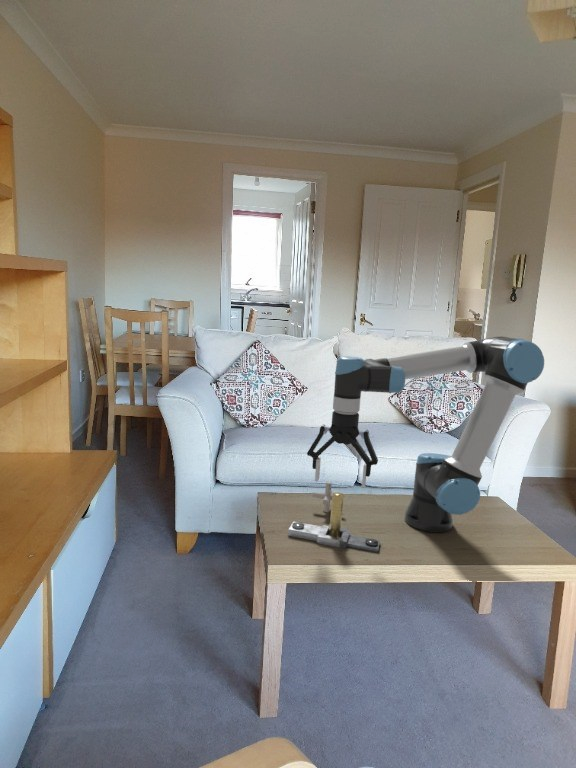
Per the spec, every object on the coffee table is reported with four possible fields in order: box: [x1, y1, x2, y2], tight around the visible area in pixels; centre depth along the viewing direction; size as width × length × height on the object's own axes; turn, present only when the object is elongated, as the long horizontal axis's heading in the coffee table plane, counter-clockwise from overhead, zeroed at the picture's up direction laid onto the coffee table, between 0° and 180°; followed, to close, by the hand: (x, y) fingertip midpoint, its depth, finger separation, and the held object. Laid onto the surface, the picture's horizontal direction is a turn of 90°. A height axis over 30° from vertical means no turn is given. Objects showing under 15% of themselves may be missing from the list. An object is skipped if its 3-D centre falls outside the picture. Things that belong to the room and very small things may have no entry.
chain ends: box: [287, 521, 381, 553], centre depth 155 cm, size 26×8×3 cm, turn 75°
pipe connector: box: [311, 481, 333, 513], centre depth 175 cm, size 10×10×10 cm
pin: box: [328, 491, 344, 538], centre depth 154 cm, size 3×3×14 cm
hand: (340, 483), depth 153 cm, fingers open, 13 cm apart
